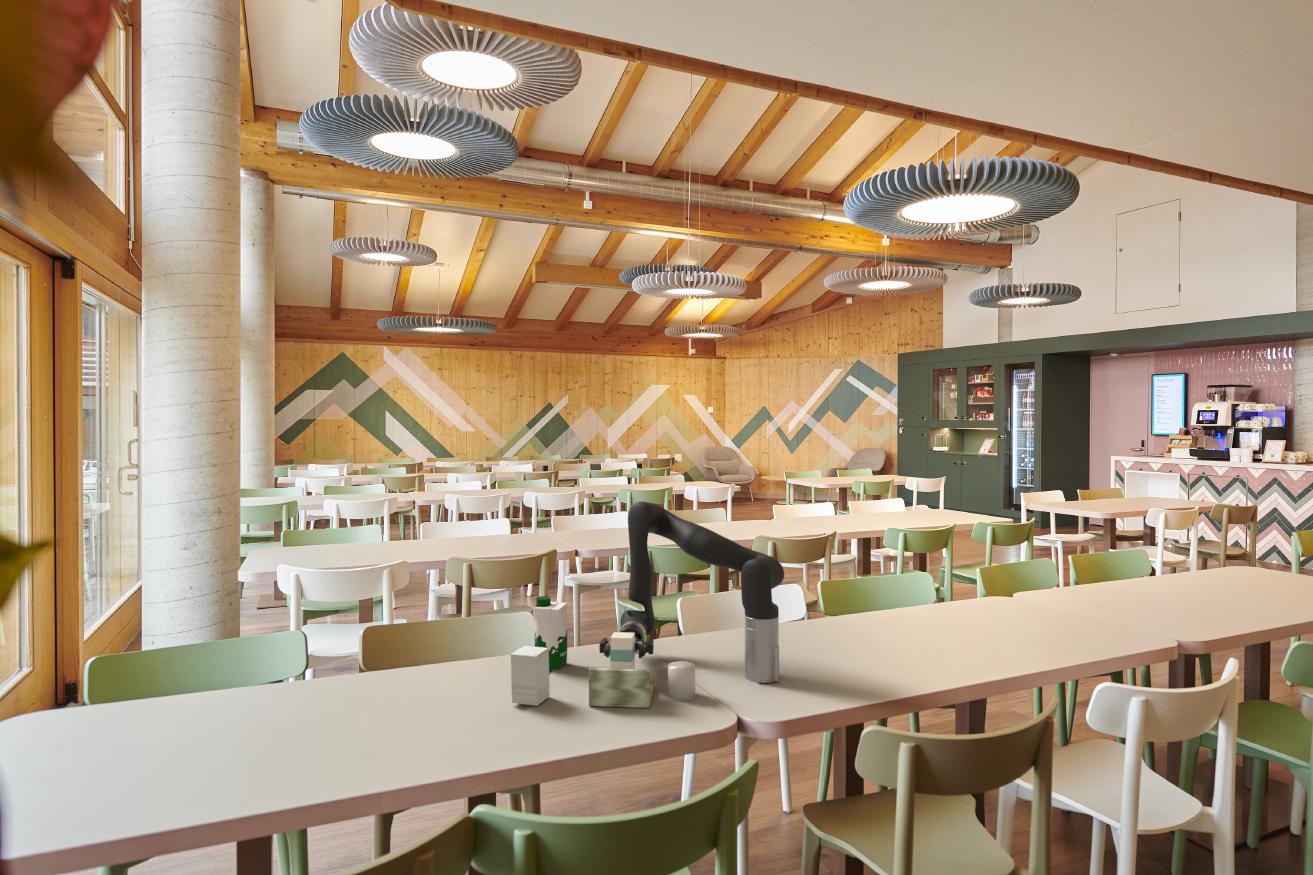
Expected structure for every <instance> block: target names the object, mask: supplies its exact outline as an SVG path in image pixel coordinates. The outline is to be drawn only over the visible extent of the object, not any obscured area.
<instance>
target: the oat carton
mask: <svg viewBox="0 0 1313 875" xmlns="http://www.w3.org/2000/svg"><path fill="white" fill-rule="evenodd" d="M610 641H611V649H610V656H609V658H610V659H609V660H610V661H609V662H610V668H613V669H636V667H635V666H636V665H635V664H636V663H635V662H636V658H635V656H636V654H635V633H627V632H619V631H617V632H616V631H614V632H613V633H612V635H611V636H610Z"/></svg>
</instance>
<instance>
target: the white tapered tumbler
mask: <svg viewBox="0 0 1313 875" xmlns="http://www.w3.org/2000/svg"><path fill="white" fill-rule="evenodd" d="M667 697H668V699H670V700H673V701H676V702H688V701H692V700H693V699H695V698H696V664H695V663H693V662H690V661H687V660H685V661H683V660H679V661H673V662H672V661H671V662H669V663H668V664H667Z"/></svg>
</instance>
